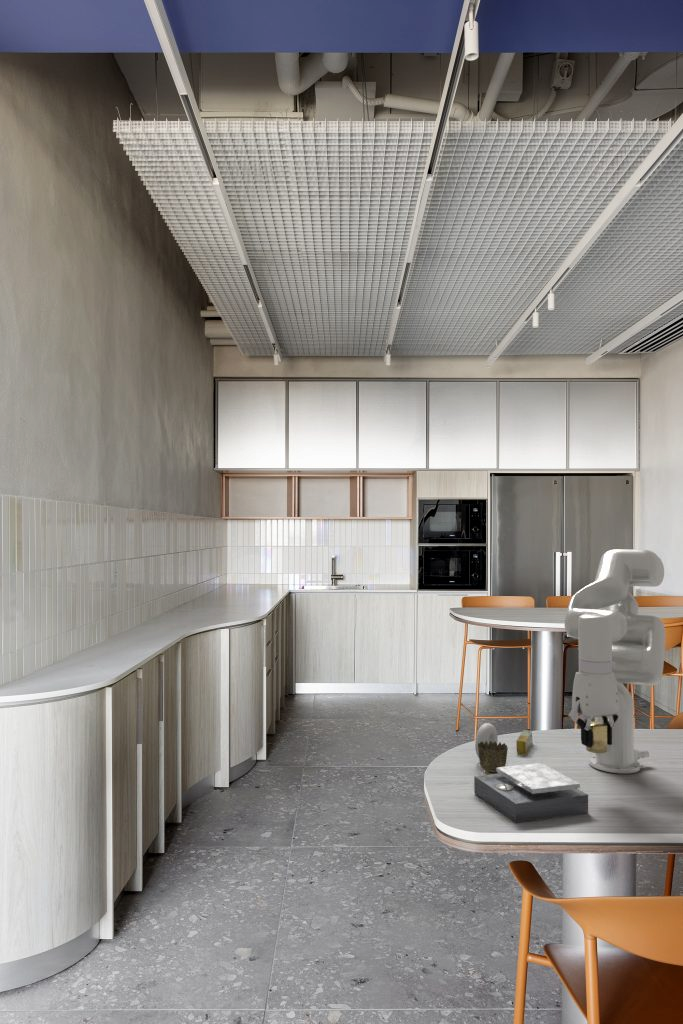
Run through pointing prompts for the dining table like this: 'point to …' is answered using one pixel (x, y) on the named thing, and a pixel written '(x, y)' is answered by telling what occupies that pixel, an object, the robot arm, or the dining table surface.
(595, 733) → the brass weight
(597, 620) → the robot arm
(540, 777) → the scale pan
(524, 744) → the medication box
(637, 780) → the dining table surface
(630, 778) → the dining table surface
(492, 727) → the grey rounded slab
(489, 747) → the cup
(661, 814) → the dining table surface
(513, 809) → the scale
